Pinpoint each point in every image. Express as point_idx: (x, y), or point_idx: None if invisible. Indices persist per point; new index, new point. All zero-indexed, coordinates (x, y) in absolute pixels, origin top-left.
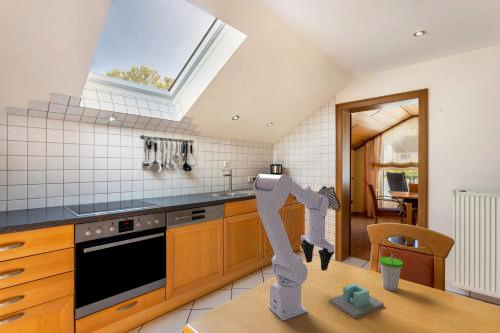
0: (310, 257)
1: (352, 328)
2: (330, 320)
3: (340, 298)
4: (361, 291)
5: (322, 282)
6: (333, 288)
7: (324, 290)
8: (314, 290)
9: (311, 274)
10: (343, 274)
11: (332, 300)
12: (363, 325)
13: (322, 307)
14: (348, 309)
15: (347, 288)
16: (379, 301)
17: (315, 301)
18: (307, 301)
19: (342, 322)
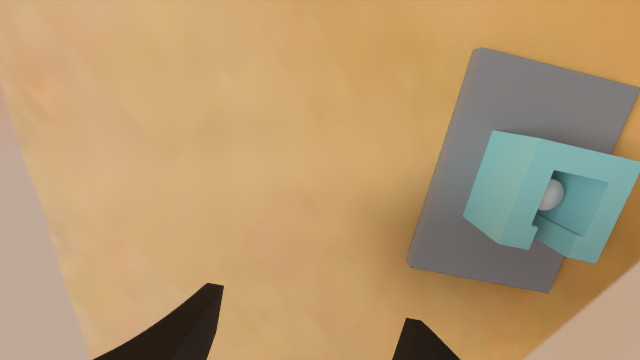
0: (204, 330)
1: (549, 337)
2: (469, 355)
3: (449, 219)
4: (604, 208)
5: (267, 104)
6: (353, 120)
7: (331, 180)
8: (295, 220)
9: (147, 57)
10: None
11: (427, 263)
12: (577, 295)
13: (405, 311)
14: (514, 274)
15: (523, 237)
16: (619, 90)
17: (358, 296)
18: (334, 321)
19: (509, 334)
